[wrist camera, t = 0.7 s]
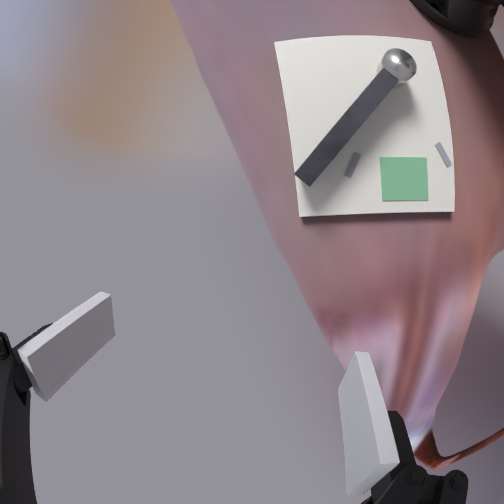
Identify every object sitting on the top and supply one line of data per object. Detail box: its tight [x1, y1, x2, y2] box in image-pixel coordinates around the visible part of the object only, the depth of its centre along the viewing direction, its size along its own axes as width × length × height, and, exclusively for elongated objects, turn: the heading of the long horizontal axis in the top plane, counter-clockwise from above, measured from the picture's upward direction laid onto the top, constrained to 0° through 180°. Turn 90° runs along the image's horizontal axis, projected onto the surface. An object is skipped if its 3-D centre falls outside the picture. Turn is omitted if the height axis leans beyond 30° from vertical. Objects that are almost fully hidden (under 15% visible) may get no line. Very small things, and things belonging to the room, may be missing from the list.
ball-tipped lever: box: [294, 48, 417, 187], centre depth 23 cm, size 19×4×4 cm, turn 143°
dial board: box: [274, 36, 455, 217], centre depth 26 cm, size 20×22×2 cm
